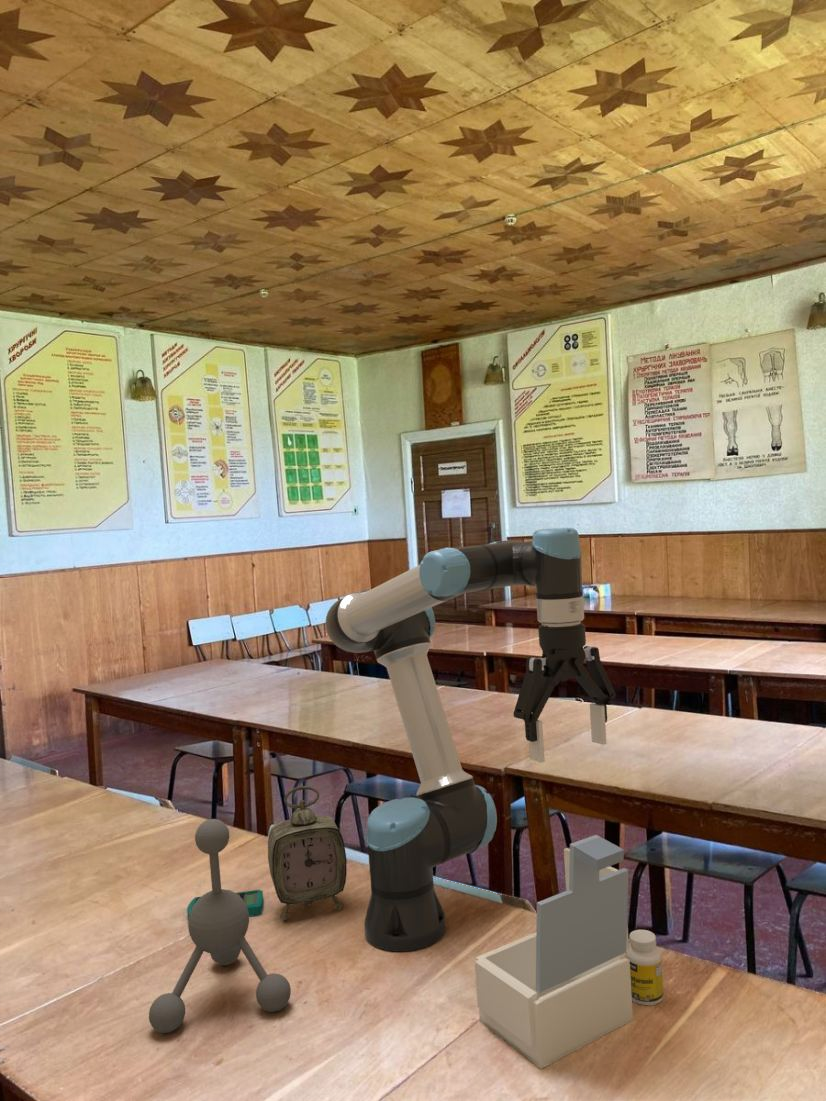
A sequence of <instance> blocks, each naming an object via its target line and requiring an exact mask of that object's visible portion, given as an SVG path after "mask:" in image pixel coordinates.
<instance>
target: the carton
mask: <svg viewBox="0 0 826 1101" xmlns="http://www.w3.org/2000/svg"><path fill="white" fill-rule="evenodd" d="M563 858H564V859H563V860H564V874H565V891H567V890H569V866H570V847H566V848H564V849H563ZM618 870H619V869H618V868H615V867H612V866H609V867H606V868H604V869H601V870H599V878H600V877H602V876H605V875H607V874H610V873H613V872H615V871H618ZM628 927H629V926H628V923H627V943H626V952H628V951H629V946H630V942H629V928H628ZM474 973H475V988H476V1003H477V1004H476V1006H477V1008H478V1011H479V1012H478V1013H479V1022H480V1023H481V1024H482V1025H483V1026H485V1028H488V1029H489V1030H490V1031H491V1032H493V1033H494V1034H495V1035H497V1036H498V1037H499V1038H500V1039H502V1040H503V1041H504V1042H505V1043H506V1044H508V1045H510V1047H512V1048H513V1049H515V1050H516V1051H517V1052H518V1053H520V1055H522V1056H524V1057H525V1058H526V1059H527V1060H529V1061H530V1062H531V1063H532V1064H534V1066H537V1067H538V1068H539V1069H540V1070H542V1069H544V1068H545V1067H548V1066H549V1065H552V1064H553V1063H555V1062H557V1061H560V1060H561V1059H563V1058H565V1057H567V1056H568V1055H570V1054H572V1053H574V1052H576V1051H578V1050H580V1049H582V1048H584V1047H586V1046H587V1045H589V1044H591V1043H592V1042H594V1041H597V1040H598V1039H600V1038H602V1037H604V1036H606V1035H607V1034H610V1033H611V1032H613V1031H615V1030H617V1029H620V1028H621V1027H623V1026H624V1025H626V1024H628V1023H630V1022H632V1021H634V1015H633V1014H634V1012H633V1001H632V994H631V977H630V960H629V959H627V958H626V956H625V953H624V954H621V955H619V956H617V957H615V958H613V959H611V960H609V961H607V962H605V963H602V964H600V965H598V966H596V967H594V968H592V969H590V970H588V971H585V972H583V973H581V974H579V975H577V976H575V977H573V978H571V979H568V980H566V981H564V982H562V983H560V984H558V985H556V986H554V987H552V988H549V989H547V990H545V991H543V992H541V993H539V992H538V991H536V931H535V932H533V933H530V934H528V935H526V936H524V937H521V938H519V939H516V940H514V941H511V942H509V943H507V944H504V945H502V946H499V947H498V948H494V949H492V950H490V951H488V952H485V953H483V954H481V955H480V954H479V955H478V956H476V957H475V960H474Z"/></svg>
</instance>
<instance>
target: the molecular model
mask: <svg viewBox="0 0 826 1101" xmlns="http://www.w3.org/2000/svg"><path fill="white" fill-rule="evenodd" d="M229 840H230V830H229V827H228V826H227V825H226V823H224V822H223V821H222V820H220V819H217V818H210V819H207V820H205V821H203V822H202V823H201V824H200V825H199V826H198V827H197V828H196V832H195V835H194V842H195V845H196V847H197V848H198V850H199V851H200V852H202V853H203V854H206V855H209V868H210V879H211V881H210V882H211V890H210V891H208V892H206V893H204V894H203V895H202V896H199V897H200V898H199V899H198V900H197V901H196V903H195V904H194V906H193V907H192V910H191V912H190V915H189V919H188V918H187V927H188V929H187V930H188V934H189V936H190V939H191V940H192V942H193V943H194V945H195V948H194V950H193V952H192V953H191V955H190V957H189V959H188V961H187V963H186V965H185V967H184V968H183V971H182V972H181V974H180V976H179V979H178V981H176V982H177V983H176V984H175V986H174V988H173V990H172V992H167V993H166V992H165V993H163V994H161V995H159V996H157V997H156V998H155V1000H154V1001H153V1002H152V1003H151V1004H150V1008H149V1011H148V1020H149V1023H150V1025H151V1027H152V1028H153V1029H154V1030H155V1031H157V1032H158V1033H162V1034H169V1033H172V1032H174V1031H176V1029H178V1028H179V1027H180V1026H181V1025H182V1023H183V1022H184V1019H185V1015H186V1005H185V1002H184V1000H183V999H182V998H181V997H182V994H183V993H184V991H185V989H186V987H187V985H188V982H189V981H190V978H191V977H192V974H193V973H194V971H195V969H196V967H197V965H198V963H199V961H200V959H201V958H202V955H203V953H207V954H210V957H211V959H212V961H213V962H215V963H216V964H218V965H221V966H227V965H230V964H232V963H233V962H235V961H236V960H237V959H238V957H239V956H240V954H241V951H242V954H243V955H244V957H245V958H246V959H247V961H248V963H249V965H250V966H251V968H252V969H253V972H255V974H256V976H257V978H258V979H259V983H258V985H257V987H256V991H255V998H256V1001H257V1004H258V1005H259V1007H260V1008H261V1009H263V1010H264V1011H266V1012H268V1013H274V1012H279V1011H281V1010H282V1009H284V1008H285V1006H287V1004H288V1003H289V1001H290V998H291V991H292V989H291V984H290V982H289V980H288V978H287V977H285V976H283V975H282V974H280V973H270V974H268V973H267V972H266V970H265V968H264V967H263V965H262V964H261V962H260V960H259V959H258V957H257V955H256V954H255V953H254V950H253V949H252V947H251V946H250V944H249V941H248V940H247V939H246V934H247V932H248V929H249V923H250V916H249V913H248V908H247V906H246V904H245V902H244V901H243V899H242V898H241V897H240V896H239V895H238V894H236V893H237V892H234V891H232V890H230V889H225V888H222V883H221V882H222V881H221V869H220V857H219V853H221V852H222V851H223V850H224V849H225V848H226V847H227V846H228V844H229Z"/></svg>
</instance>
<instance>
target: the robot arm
mask: <svg viewBox="0 0 826 1101" xmlns="http://www.w3.org/2000/svg"><path fill="white" fill-rule="evenodd" d="M579 535H580V534H579V533H578V531H577V529H575V528H573V527H559V528H558V527H557V528H545V529H544V528H542V529H537V530H535V531H533V533H532V540H531V541H526V540H525V541H523V540H521V541H518V540H513V541H512V540H502V541H501V540H499V541H493V542H489V543H486V544H480V545H479V544H478V545H470V546H458V547H442V548H440V549H436V550H431V551H429V552H428V553H426V554H425V555H423V558H422V560H421V562H420V563H419V565H416V566H414V567H413V568H411V569H409V570H406V571H405V572H403V573H401V574H399V575H396V576H395V577H393V578H391V579H389V580H387V581H385V582H384V583H382V584H381V583H380V584H379V585H377V586H375V587H374V588H372V589H369V590H367V591H366V592H363V593H360V592H353V593H350V594H348V595H346V596H344V597H342V598H340V599H338V600H337V601H335V602H334V603H333V604H332V605H331V606H330V608H329V610H328V611H327V613H326V617H325V630H326V633H327V635H328V637H329V639H330V640H331V642H332V643H333V644H334V645H335V646H336V647H338V648H339V649H341V650H343V651H345V652H348V653H354V654H358V653H359V654H361V653H367V652H374V656H375V659H376V661H377V663H378V664H380V665H382V666H384V667H385V668H386V671H387V674H388V676H389V680H390V683H391V687H392V690H393V693H394V697H395V700H396V703H397V706H398V710H399V713H400V716H401V720H402V724H403V726H404V730H405V733H406V737H407V740H408V743H409V747H410V751H411V754H412V757H413V760H414V761H413V762H414V764H415V768H416V770H417V774H418V778H419V781H420V785H419V787H418V789H417V791H416V797H410V796H409V797H407V796H406V797H403V798H401V799H400V798H396V799H395V798H394V799H391V800H388V801H385V802H383V803H382V804H380V805H378V806H377V807H375V808H374V809H373V810H371V813H370V814H369V815H368V817H367V821H366V837H365V838H366V843H367V852H368V865H369V877H370V898H369V901H368V905H367V909H366V913H365V914H366V915H365V917H364V924H363V925H364V926H363V927H364V936H365V937H364V938H365V939H366V940H367V942H368V943H369V944H370V945H372V946H373V947H376V948H378V949H381V950H384V951H392V952H411V951H416V950H419V949H424V948H426V947H430V946H431V945H433V944H435V943H436V942H439V941H440V939H442V938H443V937H444V935H445V934H446V931H447V924H446V923H447V921H446V920H447V919H446V915H445V911H444V909H443V907H442V904H441V902H440V899H439V897H438V894H437V892H436V889H435V887H434V883H435V882H434V871H433V868H434V867H437V866H439V865H442V864H444V863H447V862H449V861H452V860H454V859H458V858H459V857H460V858H461V857H463V856H465V855H467V854H469V855H470V854H473V853H475V852H476V851H477V850H480V849H481V848H484V847H485V846H487V845H488V844H489V843H490V842H491V841H492V840H493V838H494V835H495V832H496V829H497V823H498V817H497V816H498V814H497V808H496V805H495V803H494V800H493V798H492V795H491V794H490V793H489V792H488V791H487V790H486V788H484V786H481V785H478V784H476V782H475V781H474V776H473V775H471V774H469V773H468V772H465V771H464V769H463V768H462V764H461V761H460V758H459V755H458V754H459V753H458V752H457V749H456V745H455V742H454V738H453V734H452V732H451V729H450V726H449V722H448V719H447V716H446V712H445V710H444V709H445V708H444V707H443V702H442V700H441V696H440V693H439V690H438V687H437V684H436V681H435V678H434V675H433V672H432V671H433V670H432V668H431V664H430V661H429V658H428V652H429V651H430V648H431V647H432V643H431V641H430V639H431V637H432V636H433V634H434V632H435V629H436V627H435V626H434V625H435V624H436V618H435V612H434V610H433V607H435V606H437V605H440V604H443V603H444V602H447V601H450V600H452V599H454V598H456V597H458V596H461V595H464V594H468V593H472V592H478V591H479V592H480V591H486V590H492V589H498V588H505V587H507V588H508V587H512V586H532V587H535V593H536V594H535V596H536V613H537V614H536V616H537V622H539V623H541V624H539V625H538V627H537V628H538V630H537V631H538V645H539V647H540V649H541V651H542V653H541V654H542V655H541V657H529V656H528V657H527V658H526V661H525V664H526V666H525V673H524V674H525V675H524V677H523V680H522V684H521V687H520V689H519V690H520V691H519V694H518V697H517V701H516V702H515V706H514V707H515V708H514V711H513V715H512V716H513V717H514V718H516V719H519V720H523V722H524V732H525V739H526V741H528V747H529V759H530V760H533V761H534V762H535V761H536V762H538V763H544V762H546V760H545V758H546V757H545V745H544V731H543V730H544V729H543V728H544V727H543V721H542V720H539V718H540V715H541V714H542V712H543V710H544V708H545V706H546V704H547V703H548V700H549V698H550V696H551V695H552V692H553V690H554V688H555V687H556V686H558V685H559V683H560V682H566V681H568V680H576V681H577V682H578V684H579V685H580V686H581V688H582V689H583V690H584V691H585V693H586V694H587V695H588V696H589V698H590V699H591V700H592V703H589V714H590V715H589V717H590V718H589V719H590V732H591V742H592V743H596V744H598V745H599V744H600V745H602V746H604V745H607V729H606V727H607V726H606V723H607V722H608V708H607V707H608V706H610V705H611V704H612V702H613V701H612V699H613V700H614V699H615V698H616V694H617V693H616V691H615V689H614V687H613V685H612V682H611V681H610V680H611V679H610V678H609V676H608V674H607V671H606V670H605V667H604V664H602V660H601V657H600V649H599V648H598V647H596V646H588V645H586V644H587V643H586V642H587V639H586V638H587V637H586V625H585V624H584V623H583V622H582V621H583V620H584V619H585V606H584V592H583V578H582V576H583V574H582V555H583V554H582V553H583V552H582V551H581V544H580V543H581V541H580V536H579ZM584 662H585V664H586V666H585V665H584ZM586 667H587V668H586ZM487 792H488V793H487Z"/></svg>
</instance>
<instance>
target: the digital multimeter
mask: <svg viewBox="0 0 826 1101" xmlns="http://www.w3.org/2000/svg"><path fill="white" fill-rule="evenodd" d="M235 893H236V894H238V895H239V896H240V897H241V898H242V899H243V901H244V902H245V904H246V906H247V908H248V913H249V917H255V916H261V915H262V912H263V909H264V890H261V889H256V890H255V889H253V890H247V891H240V892H235ZM200 897H201V896H195V897H194V898H193V899H191V901H190V902H189V904H188V905H187V908H186V914H187V920H188V919H189V915H190V912H191V910H192V907H193V906H194V904H195V903H196V901H197V900H198V899H199V898H200Z"/></svg>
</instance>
